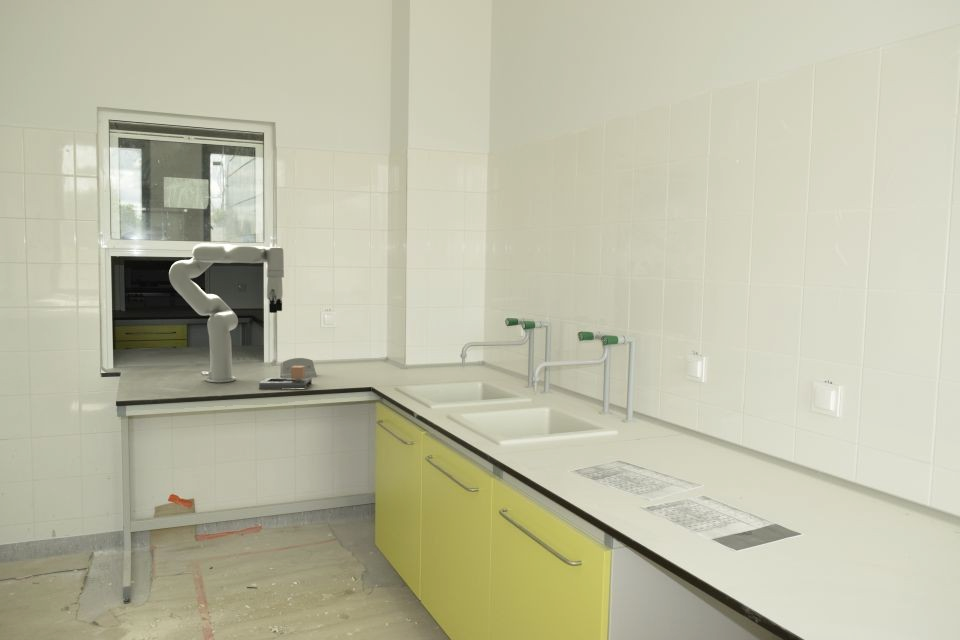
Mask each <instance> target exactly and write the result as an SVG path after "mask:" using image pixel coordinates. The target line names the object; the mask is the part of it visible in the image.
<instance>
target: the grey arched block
mask: <svg viewBox="0 0 960 640" xmlns="http://www.w3.org/2000/svg"><path fill="white" fill-rule="evenodd" d="M293 366H305V377H304V378H313V377H314V376H315V377H317V372H316V367H315V365H314V361H313V359H309V358H306V357H305V358H304V357H295V358H290V359H287V360H284V361H282V362H281V363H280V377H281V378H291V367H293ZM280 377H279V378H280Z"/></svg>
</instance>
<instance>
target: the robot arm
mask: <svg viewBox="0 0 960 640" xmlns="http://www.w3.org/2000/svg"><path fill="white" fill-rule="evenodd" d="M191 253H192V257H191V258H190V259H184V260H183V259H182V260H178V261H175V262H174V263H173V264H172V265H171V267H170V269H169V272H168V278H169V282H170V284H171V286H172V287H173V289H174V290H175V291H176V292H177V293H178V295H179V296H181V297H182V299H184V300H185V302H186V303H187V304H188V305H189V306H190V307H191V308H192V309H193V310H194V311H195V312H196V313H197V314H198V315H200V316H209V318H208V319H207V322H206V323H207V324H206V326H207V333H208V339H209V365H210V366H209V371H201V373H200V374H201V376H202V377H207V378H206V381H207V382H208V383H216V384H217V383H228V382H234V381H236V380H237V376H233V353H232V336H231V332H230V331H232V330H234V329H236V328H237V326H238V324H239V320H238V319H239V318H238V316H237V314H236V313H235V312H234V311H233V310H232V309H231V308H230V306H229V305H228V304H227V303H226V302H225V301H224V300H223V299H222V298H221V297H220V296H218V295H217V294H213V293H206V292H205V291H204V290H203V289H201V287H200V286H199V285H198V284H197V283H196V282H194V281H193V280H192V279H194V278H197V277H199V276H201V275H202V274H203V273H204V272H205V271H206V270H208V269H209V267H210V266H212V265H213V264H215V263H218V264H219V263H220V264H231V263H238V264H239V263H242V264H262V263H266V265H265V266H266V278H267V284H266V285H267V286H266V298H267V300H268V307H269V308H268V309H269V310H268V311H269V313H273V314H276V313H278V312H282V311H283V299H282V298H283V295H284V294H283V278H285V272H284V271H285V269H284V268H285V267H284V264H285V263H284V257H285V256H284V248H283V247H281V246H268V247H267V246H259V245H258V246H257V245H256V246H255V245H253V246H252V245H250V246H249V245H232V244H229V243H227V244H225V243H199V244H196V245H195V246H194V247H193V249H192V251H191Z"/></svg>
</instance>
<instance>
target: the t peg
mask: <svg viewBox="0 0 960 640" xmlns="http://www.w3.org/2000/svg"><path fill="white" fill-rule="evenodd" d="M303 378H306V377H305V366H293V367H291V379H296V381H301V379H303Z"/></svg>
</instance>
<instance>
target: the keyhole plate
mask: <svg viewBox="0 0 960 640" xmlns="http://www.w3.org/2000/svg"><path fill="white" fill-rule="evenodd" d="M312 378H313V377H304V378H303V379H301V381H296V379H291V378H283V377H281V378H280V377H266V378H264V379H263V380H261V381H259V382H258V387H259V388H258V389H259V390H283V389H282V388H306V389H307V385H306V384H311V385H312V382H313V381H312V380H313V379H312Z"/></svg>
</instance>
